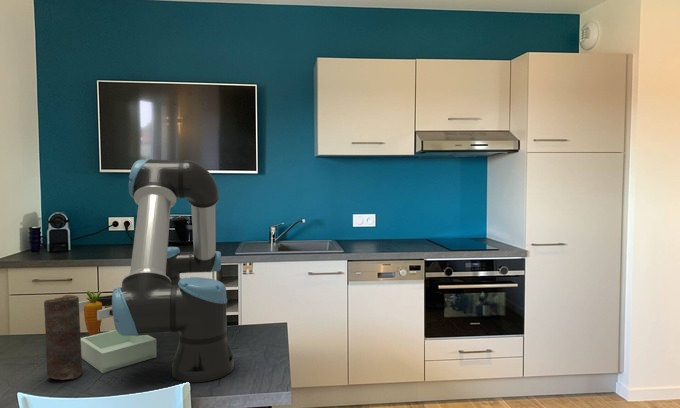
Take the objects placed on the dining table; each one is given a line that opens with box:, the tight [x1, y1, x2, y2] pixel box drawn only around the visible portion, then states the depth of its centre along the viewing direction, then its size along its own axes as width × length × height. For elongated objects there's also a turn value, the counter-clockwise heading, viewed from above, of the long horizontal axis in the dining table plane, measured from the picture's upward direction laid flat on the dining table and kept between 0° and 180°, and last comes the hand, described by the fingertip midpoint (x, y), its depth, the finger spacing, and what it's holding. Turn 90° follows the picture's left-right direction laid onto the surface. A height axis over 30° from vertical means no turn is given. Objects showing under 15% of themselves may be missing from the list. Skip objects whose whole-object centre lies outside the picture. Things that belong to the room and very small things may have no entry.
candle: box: [43, 294, 83, 381], centre depth 108 cm, size 8×7×20 cm
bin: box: [81, 329, 158, 374], centre depth 121 cm, size 16×14×5 cm
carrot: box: [83, 290, 103, 336], centre depth 135 cm, size 5×5×15 cm
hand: (84, 312), depth 133 cm, fingers open, 13 cm apart
